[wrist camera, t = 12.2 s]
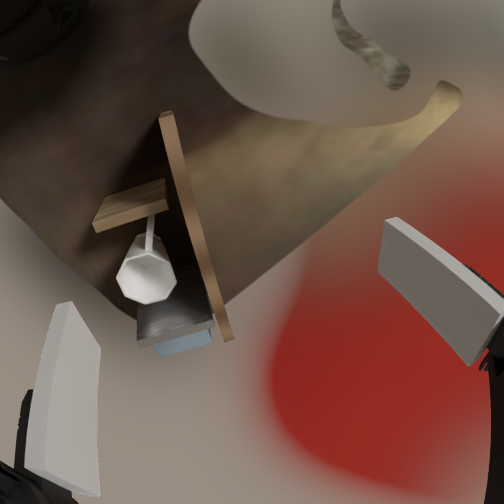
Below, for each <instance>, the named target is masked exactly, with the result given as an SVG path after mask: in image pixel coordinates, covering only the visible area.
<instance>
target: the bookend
mask: <svg viewBox="0 0 504 504" xmlns="http://www.w3.org/2000/svg"><path fill="white" fill-rule="evenodd" d="M173 272H174V275H175V278H176V281H177V283H176V285H175V286H174V288H173V289H172V291H171V292H170V294H169V296H168V297H167V299H165V300H161V301H157V302H153V303H150V304H146V305H145V304H142V303H140V302H138V307H137V342H138V343H139V345H140V347H145V346H149V345H153V344H157V343H160V342H164V341H168V340H171V339H175V338H179V337H182V336H186V335H189V334H193V333H196V332H200V331H203V330H207V329H210V328H214V327H215V323H214V320H213V316H212V313H211V309H210V305H209V302H208V298H207V294H206V290H205V286H204V283H203V279H202V278H203V277H202V274H201V271H200V267H199V264H198V263H194V264H191V265H188V266H184V267H181V268H177V269H174V270H173Z"/></svg>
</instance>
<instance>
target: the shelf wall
mask: <svg viewBox="0 0 504 504" xmlns="http://www.w3.org/2000/svg"><path fill="white" fill-rule="evenodd" d="M159 123H160V127H161V131H162V136H163V140H164V144H165V148H166V152H167V156H168V160H169V163H170V167H171V171H172V175H173V179H174V182H175V186H176V190H177V193H178V197H179V200H180V204H181V208H182V211H183V215H184V218H185V221H186V225H187V228H188V232H189V235H190V238H191V242H192V245H193V248H194V251H195V255H196V258H197V261H198V264H199V267H200V271H201V274H202V277H203V280H204V283H205V286H206V289H207V292H208V295H209V298H210V301H211V304H212V307H213V310H214V313H215V316H216V319H217V322H218V325H219V328H220V330H221V333H222V336H223V339H224V342H227V341H230V340H233V339H234V337H233V333H232V330H231V327H230V324H229V321H228V317H227V314H226V311H225V307H224V304H223V301H222V297H221V294H220V291H219V287H218V284H217V281H216V277H215V274H214V270H213V267H212V263H211V260H210V256H209V253H208V249H207V246H206V242H205V238H204V235H203V231H202V227H201V224H200V220H199V216H198V212H197V209H196V205H195V201H194V197H193V193H192V189H191V185H190V181H189V177H188V173H187V169H186V165H185V161H184V157H183V153H182V149H181V145H180V140H179V136H178V132H177V127H176V123H175V119H174V114H173V113H172V111H167V112H163V113H161V114H160V116H159Z"/></svg>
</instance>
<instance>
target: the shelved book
mask: <svg viewBox="0 0 504 504" xmlns="http://www.w3.org/2000/svg"><path fill="white" fill-rule="evenodd" d="M210 343H213V341H212V337H211V333H210V329H207V330H203V331H200V332H196V333H193V334H189V335H186V336H182V337H179V338H175V339H171V340H168V341H164V342H160V343H157V344H153V345H152V346H153V347H154V349H155V351H156V352H157V354H158V356H159V357H163V356H167V355H171V354H174V353H178V352H182V351H186V350H189V349H193V348H196V347H200V346H203V345H206V344H210Z"/></svg>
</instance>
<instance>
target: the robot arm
mask: <svg viewBox="0 0 504 504" xmlns="http://www.w3.org/2000/svg"><path fill="white" fill-rule="evenodd" d="M88 3H89V0H0V60H1V61H7V62H15V63H16V62H25V61H28V60H32V59H34V58H37V57H39V56H41V55H42V54H44V53H46V52H48V51H49V50H51V49H52V48H53V47H55V46H56V45H57V44H58V43H60V42H61V41H62V40H63V39H64V38H65V37H66V36H67V35H68V34H69V33H70V32H71V31H72V29H73V28H74V27H75V26H76V24H77V23H78V22H79V20H80V18H81V17H82V15H83V14H84V12H85V10H86V8H87V5H88ZM377 271H378V272H379V273H380V274H381V275H382V276H383V277H384V278H385V279H386V280H387V281H388V282H389V283H390V284H391V285H392V286H393V287H394V288H396V290H397V291H398V292H399V293H400V294H401V295H402V296H404V298H405V299H406V300H407V301H408V302H409V303H410V304H411V305H412V306H413V307H414V308H415V309H416V310H417V311H418V312H419V313H420V314H421V315H422V316H423V317H424V318H425V319H426V320H427V321H428V322H429V323H430V325H431V326H432V327H433V328H434V329H435V330H436V331H437V332H438V333H439V334H440V335H441V336H442V338H443V339H444V340H445V341H446V342H447V343H448V344H449V345H450V346H451V347H452V349H453V350H454V351H455V352H456V353H457V354H458V355H459V356H460V358H461V359H462V360H463V361H464V362H465V363H466V365H467V366H468V367H469V366H470V365H472V364H473V363H474V362H475V361H476V360H478V359H479V358H480V357H481V355H482V353H483V352H484V350H485V349H486V347H487V348H488V349H489V352H488V353H487V355H486V356H485V358H484V359H483V361H482V362H481V364H480V366H479V370H482V368H483V367H484V366H485V364H486V363H488V364H487V365H486V367H485V369H484V371H488V372H489V383H490V399H491V447H490V462H489V472H488V482H487V488H486V494H485V500H484V504H504V295H503V294H502V293H501V292H499V291H498V290H497V289H496V288H495V287H494V286H493V285H492V284H490V283H488V282H487V280H486V279H484V278H483V277H481V276H480V274H478V273H477V272H476V271H475V270H473V269H472V268H471V267H468V266H466V265H464V264H462V263H460V262H459V261H458V260H456V259H455V258H454V257H452V256H451V255H449V254H448V253H447V252H446V251H445V250H443V249H442V248H441V247H439V246H438V245H436V244H435V243H434V242H432V241H431V240H430V239H428V238H427V237H425V236H424V235H422V234H421V233H420V232H418V231H417V230H416V229H414V228H413V227H411V226H410V225H408V224H407V223H405V222H404V221H402V220H401V219H399V218H398V217H395V218H391V219H387V220H385V221H384V230H383V237H382V245H381V251H380V258H379V264H378V270H377ZM100 356H101V348H100V346H99V344H98V343H97V341H96V340H95V338H94V337H93V335H92V334H91V332H90V331H89V329H88V327H87V326H86V324H85V323H84V321H83V319H82V318H81V316H80V314H79V313H78V311H77V309H76V308H75V306H74V304H73V303H72V301H69V302H65V303H62V304H57V305H56V307H55V310H54V313H53V317H52V319H51V323H50V326H49V329H48V333H47V336H46V340H45V343H44V347H43V351H42V355H41V359H40V363H39V367H38V372H37V376H36V380H35V385H34V389H31V390H28V391H27V393H26V395H25V397H24V399H23V401H22V405H21V411H20V418H19V424H18V426H19V429H18V431H17V440H16V451H15V463H14V469H13V468H11V467H10V466H8V465H6V464H5V463H3V462H1V461H0V504H78V502H77V501H75V500H74V499H73V498H72V493H71V492H74V493H76V494H78V495H81V496H93V497H101V492H100V481H99V468H98V446H97V406H98V405H97V404H98V403H97V402H98V381H99V368H100V367H99V366H100Z"/></svg>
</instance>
